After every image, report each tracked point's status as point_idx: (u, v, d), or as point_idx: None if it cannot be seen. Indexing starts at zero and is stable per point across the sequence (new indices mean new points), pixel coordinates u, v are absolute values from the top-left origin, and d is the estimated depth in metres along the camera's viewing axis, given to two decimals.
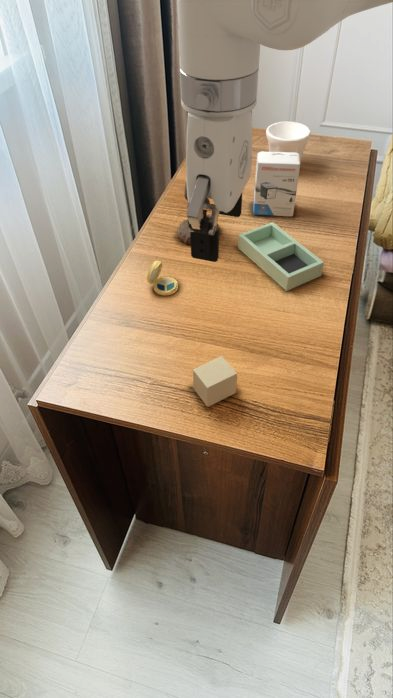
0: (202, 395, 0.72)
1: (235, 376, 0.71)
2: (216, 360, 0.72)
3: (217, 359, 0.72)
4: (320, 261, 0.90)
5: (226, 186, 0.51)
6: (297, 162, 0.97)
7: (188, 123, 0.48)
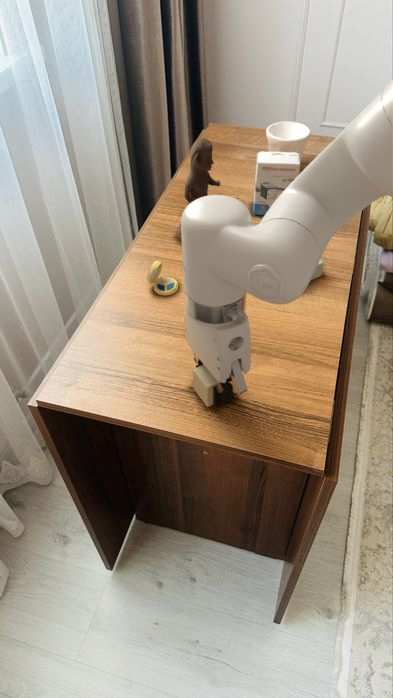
0: (202, 395, 0.72)
1: None
2: None
3: None
4: (320, 261, 0.90)
5: (250, 356, 0.64)
6: (297, 162, 0.97)
7: (220, 334, 0.59)
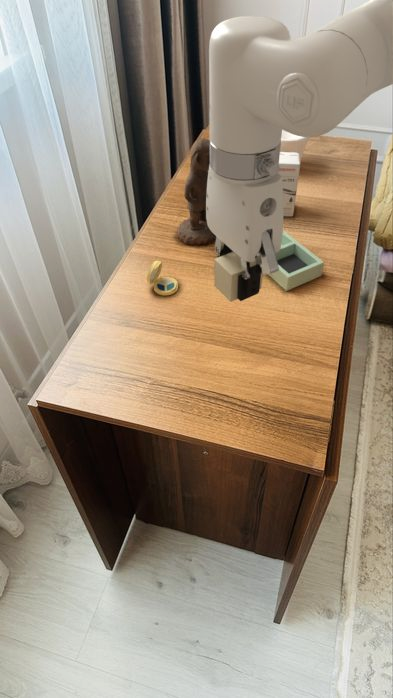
0: (225, 289, 0.65)
1: None
2: None
3: None
4: (320, 261, 0.90)
5: (282, 229, 0.57)
6: (297, 162, 0.97)
7: (251, 193, 0.52)
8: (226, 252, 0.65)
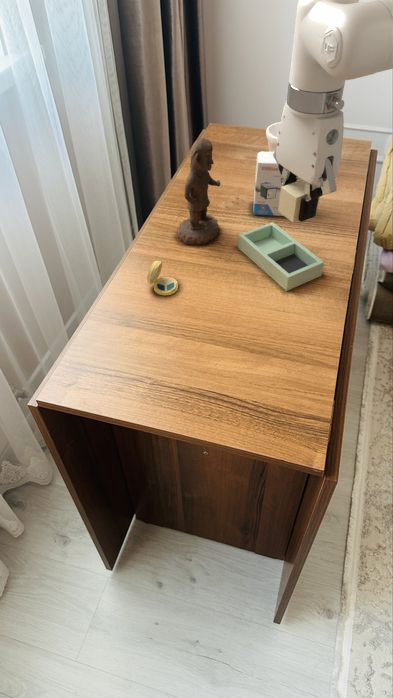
0: (288, 211, 0.81)
1: None
2: (300, 181, 0.81)
3: (301, 180, 0.81)
4: (320, 261, 0.90)
5: (340, 158, 0.73)
6: None
7: (320, 125, 0.68)
8: (290, 182, 0.81)
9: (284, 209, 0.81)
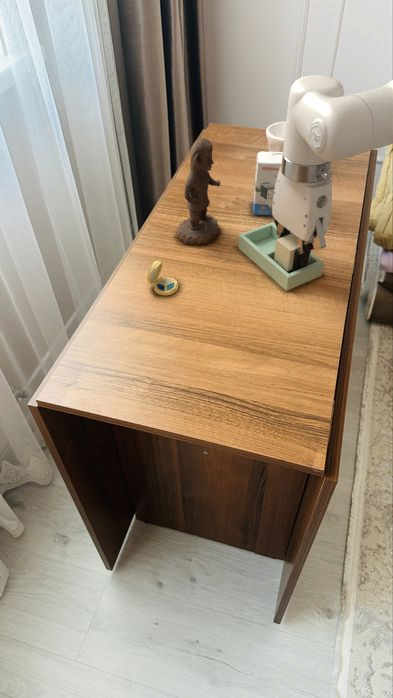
0: (283, 261, 0.89)
1: None
2: None
3: None
4: (320, 261, 0.90)
5: (329, 218, 0.81)
6: None
7: (311, 192, 0.76)
8: (284, 235, 0.89)
9: (279, 259, 0.90)
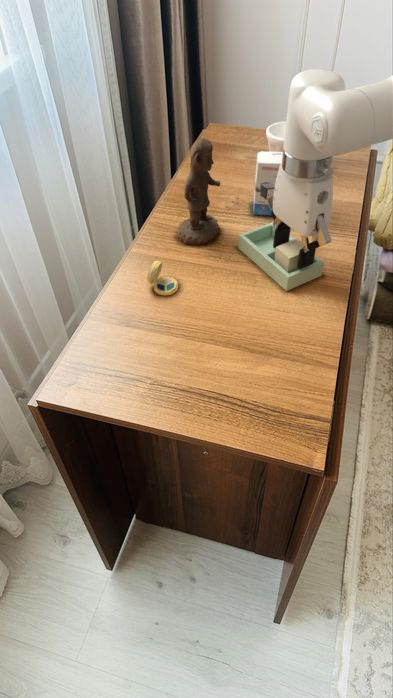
0: None
1: None
2: (293, 241, 0.90)
3: (294, 240, 0.90)
4: (320, 261, 0.90)
5: (330, 214, 0.80)
6: None
7: (312, 187, 0.76)
8: (281, 226, 0.89)
9: None
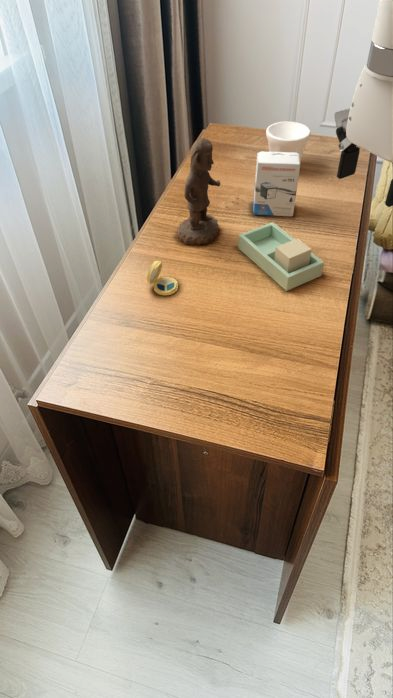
0: None
1: (310, 252, 0.89)
2: (293, 241, 0.90)
3: (294, 240, 0.90)
4: (320, 261, 0.90)
5: None
6: (297, 162, 0.97)
7: None
8: (349, 148, 0.72)
9: None
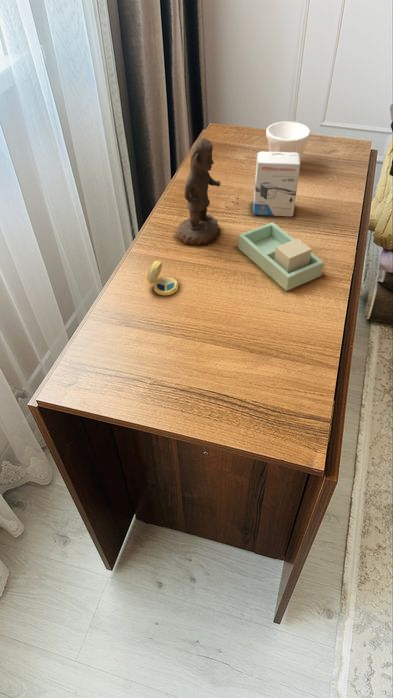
0: None
1: (310, 252, 0.89)
2: (293, 241, 0.90)
3: (294, 240, 0.90)
4: (320, 261, 0.90)
5: None
6: (297, 162, 0.97)
7: None
8: None
9: None
